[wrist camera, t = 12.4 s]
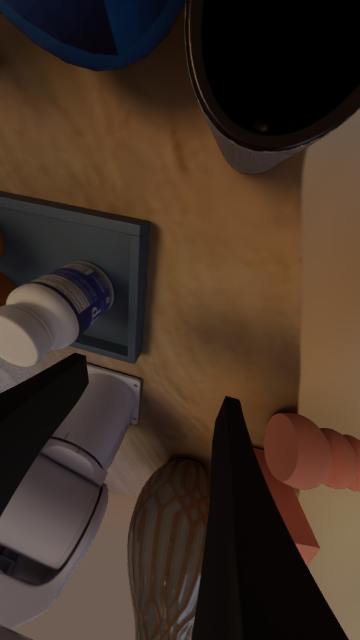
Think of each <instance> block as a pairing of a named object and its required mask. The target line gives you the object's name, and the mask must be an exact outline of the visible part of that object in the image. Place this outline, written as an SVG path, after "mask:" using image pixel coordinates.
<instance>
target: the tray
mask: <svg viewBox="0 0 360 640" xmlns="http://www.w3.org/2000/svg"><path fill="white" fill-rule="evenodd" d="M0 232H1V234H2V237H3V241H4V251H3V253H2V255H1V256H0V272H1V273H3V274H4V275H5V276H7V277H8V278H9V279H10V280H11V281H12V282H13V284H14V285H15V286H16V288H18V287H20V286H22V285H24V284H25V283H28V282H30V281H32V280H35V279H37V278H40V277H42V276H44V275H46V274H48V273H51V272H53V271H55V270H57V269H59V268H61V267H63V266H66V265H68V264H70V263H73V262H77V261H84V262H88V263H91V264H93V265H95V266H97V267H98V268H100V269H101V270H102V271H103V272H104V273H105V274H106V275H107V277H108V278H109V280H110V282H111V284H112V286H113V290H114V300H113V303H112V305H111V307H110V308H109V309H108V310H107V311H106V312H105V313H104V314H103V315H102V316H101V317H100V318H98V319H97V320H96V321H95V322H94V323H93V324H92V325H91V326H90V327H89V328H88V329H87V330H86V331H85V332H84V333H83V334H82V335H81V336H79V337H78V338H77V339H76V340H75V341H74V342H73V343H72V344H71V345H69V346H72V347H75V348H79V349H82V350H86V351H89V352H93V353H97V354H100V355H104V356H107V357H111V358H114V359H118V360H121V361H125V362H128V363H132V364H135V362H136V361H137V359H138V357H139V356H140V354H141V352H142V341H143V326H144V310H145V295H146V279H147V264H148V249H149V233H150V221H146V220H141V219H136V218H131V217H127V216H122V215H117V214H112V213H107V212H102V211H97V210H92V209H87V208H82V207H77V206H72V205H67V204H62V203H57V202H52V201H47V200H42V199H38V198H33V197H28V196H23V195H18V194H13V193H8V192H3V191H0Z"/></svg>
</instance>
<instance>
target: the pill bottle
mask: <svg viewBox="0 0 360 640" xmlns="http://www.w3.org/2000/svg"><path fill="white" fill-rule="evenodd" d="M113 300H114V290H113V286H112V284H111V282H110V280H109V278H108V277H107V275H106V274H105V273H104V272H103V271H102V270H101V269H100V268H98V267H97V266H95V265H93V264H91V263H88V262H84V261H77V262H73V263H70V264H68V265H66V266H63V267H61V268H59V269H57V270H55V271H53V272H51V273H48V274H46V275H44V276H42V277H40V278H37V279H35V280H32V281H30V282H28V283H25V284H24V285H22V286H20V287H18V288H16V289H15V290H13V291H12V292H11V293H10V295H9V296H8V298H7V301H6V305H4V306H1V307H0V357H1V358H2V359H4V360H5V361H7V362H9V363H11V364H14V365H17V366H21V367H29V366H32V365H34V364H36V363H37V362H38V361H39V360H41V359H42V358H43V357H44V356H46V355H47V354H48V353H49V352H50V351H51V350H59V349H63V348H66V347H68V346H69V345H71V344H72V343H73V342H74V341H75V340H76V339H77V338H78V337H79V336H81V335H82V334H83V333H84V332H85V331H86V330H87V329H88V328H89V327H90V326H91V325H92V324H93V323H94V322H95V321H96V320H97V319H98V318H100V317H101V316H102V315H103V314H104V313H105V312H106V311H107V310H108V309H109V308H110V307H111V305H112V303H113Z"/></svg>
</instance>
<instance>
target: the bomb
mask: <svg viewBox="0 0 360 640" xmlns="http://www.w3.org/2000/svg"><path fill="white" fill-rule="evenodd" d="M185 3H186V0H0V12H1V13H2V14H3V15H4V16H5V17H6V18H7V19H8V20H9V21H11V22H12V23H13V24H14V25H15V26H16V27H17V28H18V29H19V30H20V31H21V32H22V33H24V34H25V35H26V36H27V37H28V38H29V39H30V40H31V41H32V42H33V43H35V44H36V45H38V46H40V47H41V48H43V49H45V50H46V51H48V52H50V53H51V54H53V55H55V56H56V57H58V58H60V59H61V60H63V61H65V62H66V63H68V64H72V65H75V66H79V67H83V68H86V69H90V70H94V71H104V70H115V69H123V68H125V67H127V66H129V65H131V64H133V63H135V62H137V61H139V60H141V59H143V58H145V57H147V56H148V54H149V53H150V52H151V51H152V50H153V49H154V48H155V47H156V46H157V45H158V44H159V43H160V42H161V41H162V40H163V39H164V38H165V37H166V36H167V35H168V33H169V31H170V30H171V28H172V26H173V24H174V22H175V21H176V19H177V17H178V15H179V13H180V12H181V10H182V8H183V6H184V4H185Z"/></svg>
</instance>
